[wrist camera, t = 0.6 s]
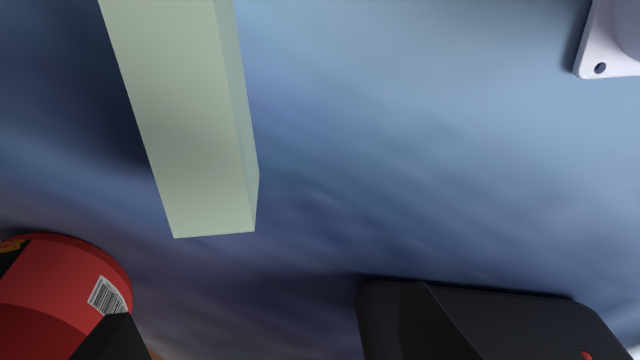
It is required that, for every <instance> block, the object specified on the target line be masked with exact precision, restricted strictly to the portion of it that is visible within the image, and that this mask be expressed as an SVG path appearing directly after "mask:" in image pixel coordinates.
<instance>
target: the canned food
mask: <svg viewBox="0 0 640 360" xmlns="http://www.w3.org/2000/svg"><path fill="white" fill-rule="evenodd" d="M132 307H133V292H132V285H131V282H130V279H129V277H128V275H127V274H126V272H125V270H124V269H123V268H122V267H121V266H120V264H119V263H118V262H117V261H116V260H115V259H113V258H112V257H111V256H109V255H108V254H107V253H105V252H104V251H102V250H101V249H99V248H97V247H95V246H93V245H92V244H89V243H87V242H84V241H82V240H79V239H77V238H73V237H69V236H65V235H61V234H53V233H28V234H22V235H17V236H14V237H12V238H9V239H6V240H4V241H3V242H1V243H0V360H68V358H69V357H70V356H71V355H72V354H73V353H74V351H75V350H76V349H77V348H78V347H79V345H80V344H81V343H82V342H83V340H84V339H85V338H86V337H87V336H88V335H89V333H90V332H91V331H92V330H93V329H94V327H95V326H96V325H97V324H98V323H99V322H100V320H101V319H102V318H103V317H104V316H105V315H106V314H113V313H123V312H129V313H130V315H131V311H132Z"/></svg>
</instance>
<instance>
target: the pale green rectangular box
mask: <svg viewBox="0 0 640 360" xmlns="http://www.w3.org/2000/svg"><path fill="white" fill-rule="evenodd" d="M98 3H99V6H100V9H101V12H102V15H103V18H104V21H105V24H106V28H107V31H108V34H109V37H110V40H111V43H112V46H113V49H114V52H115V56H116V59H117V62H118V65H119V68H120V71H121V74H122V77H123V81H124V84H125V87H126V90H127V93H128V96H129V99H130V102H131V106H132V109H133V112H134V115H135V118H136V121H137V124H138V127H139V131H140V134H141V137H142V140H143V143H144V146H145V149H146V152H147V156H148V159H149V162H150V165H151V168H152V171H153V174H154V177H155V181H156V184H157V187H158V190H159V193H160V196H161V199H162V202H163V206H164V209H165V212H166V215H167V218H168V221H169V224H170V227H171V231H172V234H173V237H174V238H184V237H196V236H207V235H219V234H230V233H241V232H253V231H254V228H255V217H256V206H257V195H258V185H259V169H258V162H257V156H256V149H255V143H254V136H253V130H252V123H251V117H250V110H249V104H248V97H247V91H246V84H245V78H244V71H243V65H242V58H241V52H240V45H239V39H238V32H237V26H236V19H235V13H234V6H233V0H98Z"/></svg>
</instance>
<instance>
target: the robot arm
mask: <svg viewBox="0 0 640 360" xmlns="http://www.w3.org/2000/svg"><path fill="white" fill-rule="evenodd" d="M598 63H600V66H599V68H598V69H597V70H595V71H594V68H595V66H596V65H597V64H598ZM573 73H574V75H575V76H576V77H578V78H580V79H584V80H587V79H601V78H616V77H630V76H640V0H593V2H592V5H591V9H590V12H589V15H588V19H587V22H586V26H585V29H584V32H583V36H582V39H581V42H580V46H579V49H578V53H577V56H576V59H575V63H574V66H573ZM398 336H399V341H400V346H401V350H402V355H403V359H404V360H485V358H484V357H483V356H482V355H481V354H480V353H479V351H478V350H477V349H476V348H475V347H474V345H473V344H472V343H471V342H470V341H469V340H468V338H467V337H466V336H465V335H464V334H463V332H462V331H461V330H460V329H459V327H458V326H457V325H456V323H455V322H454V321H453V320H452V318H451V317H450V316H449V314H448V313H447V312H446V310H445V309H444V308H443V306H442V305H441V304H440V302H439V301H438V300H437V298H436V297H435V295H434V294H433V292H432V291H431V290H430V288H429V287H428V285H427V284H426V283H425V282H413V283H403V284H401V285H400V302H399V319H398ZM68 360H152V359H151V357H150V354H149V352H148V350H147V348H146V346H145V344H144V342H143V340H142V338H141V336H140V334H139V332H138V329H137V327H136V325H135V323H134V321H133V319H132V317H131V315H130V313H129V312H123V313H113V314H106V315H105V316H104V317H103V318H102V319H101V320H100V322H99V323H98V324H97V325H96V326H95V327H94V329H93V330H92V331H91V332H90V333H89V335H88V336H87V337H86V338H85V339H84V340H83V342H82V343H81V344H80V345H79V347H78V348H77V349H76V350H75V351H74V353H73V354H72V355H71V356H70V357H69V358H68Z"/></svg>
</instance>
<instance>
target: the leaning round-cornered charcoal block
mask: <svg viewBox="0 0 640 360" xmlns="http://www.w3.org/2000/svg"><path fill="white" fill-rule="evenodd" d="M403 283H406V282H397V281H387V280H374V281H369V282H366V283H364V284H362V285H361V286H359V287H358V289H357V290H356V292H355V294H354V305H355V310H356V316H357V321H358V326H359V332H360V337H361V342H362V348H363V353H364V358H365V360H404V359H403V355H402V350H401V346H400V341H399V336H398V319H399V302H400V285H401V284H403ZM428 287H429V288H430V290H431V291H432V292H433V294H434V295H435V297H436V298H437V300H438V301H439V302H440V304H441V305H442V306H443V308H444V309H445V310H446V312H447V313H448V314H449V316H450V317H451V318H452V320H453V321H454V322H455V323H456V325H457V326H458V327H459V329H460V330H461V331H462V332H463V334H464V335H465V336H466V337H467V338H468V340H469V341H470V342H471V343H472V344H473V345H474V347H475V348H476V349H477V350H478V351H479V353H480V354H481V355H482V356H483V357H484V358H485V360H634V359H633V358H632V357H631V355H630V354H629V353H628V352H627V350H626V349H625V348H624V347H623V345H622V344H621V343H620V342H619V340H618V339H617V338H616V337H615V335H614V334H613V333H612V332H611V330H610V329H609V328H608V327H607V325H606V324H605V323H604V322H603V320H602V319H601V318H600V317H599V315H598V314H597V313H596V312H595V311H594V310H592V309H591V308H589V307H587V306H585V305H583V304H581V303H578V302H575V301H572V300H567V299H558V298H549V297H539V296H530V295H520V294H511V293H501V292H492V291H482V290H473V289H463V288H454V287H444V286H435V285H428Z"/></svg>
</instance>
